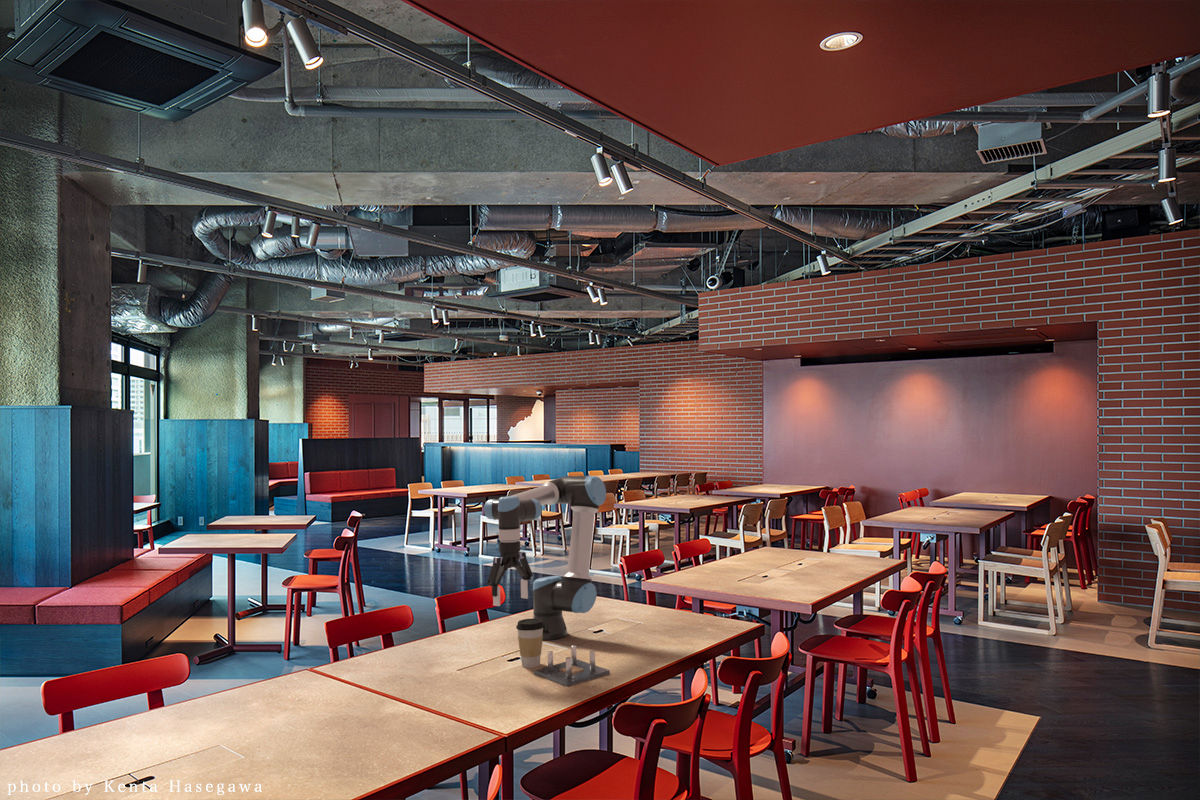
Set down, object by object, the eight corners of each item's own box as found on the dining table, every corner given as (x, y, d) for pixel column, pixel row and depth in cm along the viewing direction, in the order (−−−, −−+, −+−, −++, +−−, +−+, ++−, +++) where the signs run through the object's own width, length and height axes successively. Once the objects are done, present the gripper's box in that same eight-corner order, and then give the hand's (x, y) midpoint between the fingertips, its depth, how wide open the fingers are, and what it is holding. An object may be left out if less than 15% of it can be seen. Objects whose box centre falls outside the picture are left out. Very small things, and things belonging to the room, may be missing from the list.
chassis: (576, 662, 255) (575, 641, 256) (609, 673, 241) (609, 651, 242) (534, 673, 244) (533, 652, 244) (566, 686, 230) (566, 663, 230)
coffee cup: (547, 660, 258) (546, 618, 259) (542, 669, 248) (541, 624, 249) (520, 660, 259) (519, 618, 260) (514, 669, 249) (513, 624, 250)
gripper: (526, 535, 268) (527, 594, 267) (475, 544, 248) (476, 607, 247) (541, 537, 263) (542, 596, 262) (490, 546, 244) (492, 610, 242)
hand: (510, 602), depth 254 cm, fingers open, 13 cm apart
